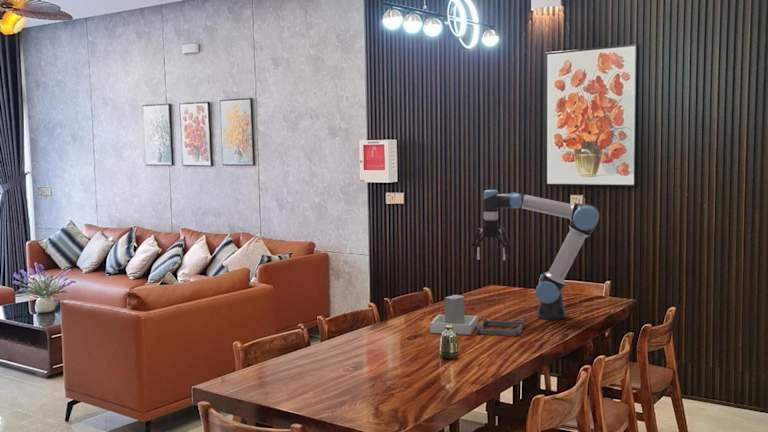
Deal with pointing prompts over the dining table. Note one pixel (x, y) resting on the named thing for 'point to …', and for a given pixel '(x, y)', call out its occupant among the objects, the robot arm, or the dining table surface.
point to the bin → (454, 325)
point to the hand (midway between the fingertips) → (491, 259)
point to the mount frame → (486, 322)
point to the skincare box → (455, 309)
